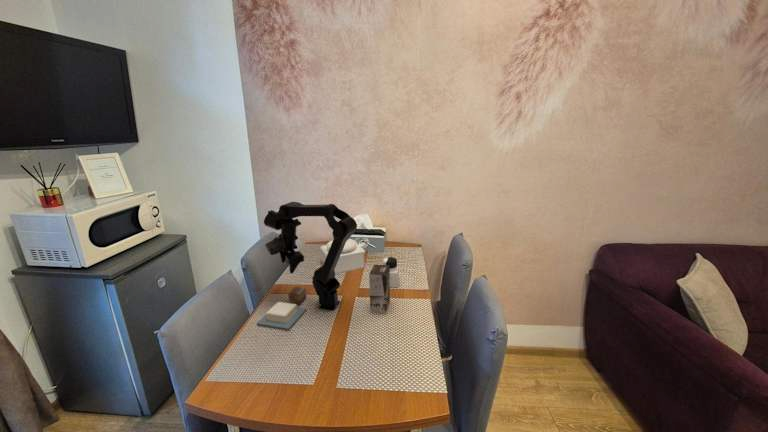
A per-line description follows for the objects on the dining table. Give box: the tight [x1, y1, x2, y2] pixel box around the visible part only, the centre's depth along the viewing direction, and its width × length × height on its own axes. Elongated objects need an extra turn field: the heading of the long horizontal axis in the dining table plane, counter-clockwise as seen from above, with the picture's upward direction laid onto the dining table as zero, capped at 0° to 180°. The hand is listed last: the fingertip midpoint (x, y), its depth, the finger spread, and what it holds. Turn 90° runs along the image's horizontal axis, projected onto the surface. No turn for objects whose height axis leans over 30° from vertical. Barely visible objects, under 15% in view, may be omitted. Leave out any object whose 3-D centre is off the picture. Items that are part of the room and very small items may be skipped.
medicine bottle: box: [382, 256, 400, 288], centre depth 144 cm, size 7×7×12 cm
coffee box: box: [368, 264, 391, 315], centre depth 126 cm, size 9×6×16 cm
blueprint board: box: [256, 301, 308, 332], centre depth 122 cm, size 13×13×4 cm
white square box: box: [319, 238, 366, 275], centre depth 164 cm, size 18×18×16 cm
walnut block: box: [287, 286, 307, 306], centre depth 133 cm, size 5×5×5 cm
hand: (287, 267), depth 135 cm, fingers open, 9 cm apart
